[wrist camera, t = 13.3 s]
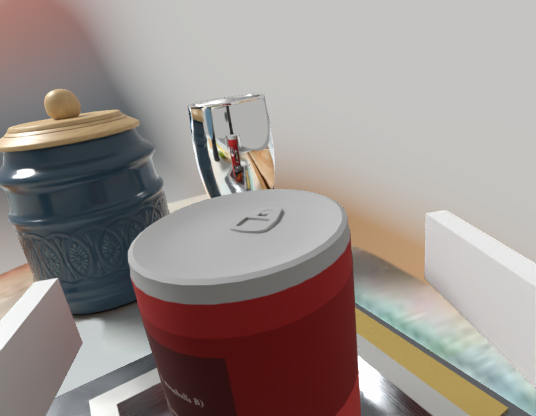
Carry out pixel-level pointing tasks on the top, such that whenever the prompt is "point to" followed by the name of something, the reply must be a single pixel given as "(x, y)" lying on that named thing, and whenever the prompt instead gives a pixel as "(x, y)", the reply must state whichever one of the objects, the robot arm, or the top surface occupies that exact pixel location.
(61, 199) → the canister
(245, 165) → the beer glass
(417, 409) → the plate
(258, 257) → the canned food
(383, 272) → the top surface
